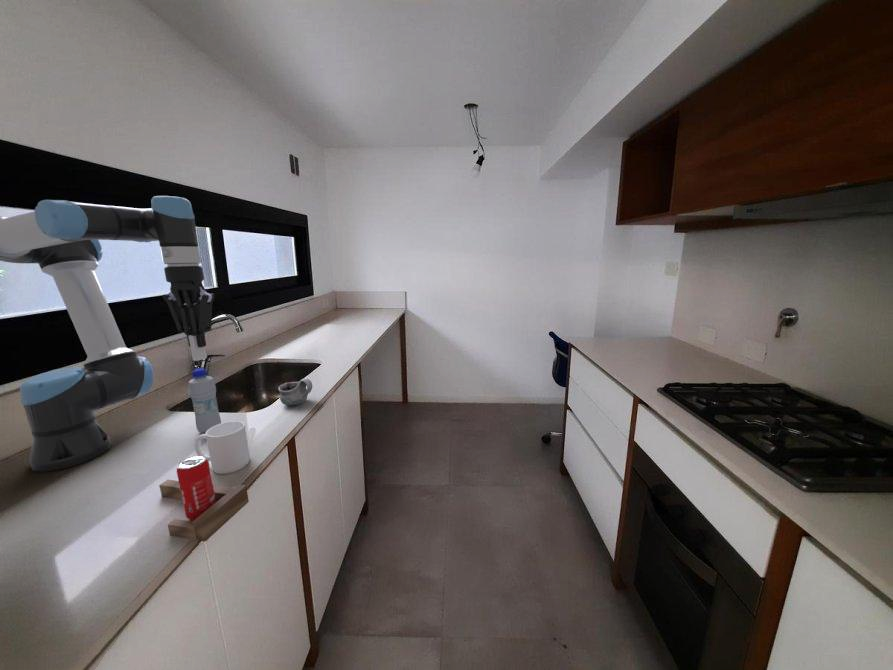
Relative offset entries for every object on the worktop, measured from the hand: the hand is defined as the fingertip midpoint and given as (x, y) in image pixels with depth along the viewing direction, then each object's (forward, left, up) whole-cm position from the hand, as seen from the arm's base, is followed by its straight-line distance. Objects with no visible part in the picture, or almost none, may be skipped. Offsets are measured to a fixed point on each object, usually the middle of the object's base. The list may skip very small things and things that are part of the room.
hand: (200, 359), depth 90 cm
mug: (+3, +33, -27) cm, 42 cm away
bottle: (-12, +10, -27) cm, 31 cm away
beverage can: (+17, -21, -27) cm, 38 cm away
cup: (+7, -5, -27) cm, 28 cm away
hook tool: (+13, -21, -26) cm, 37 cm away
